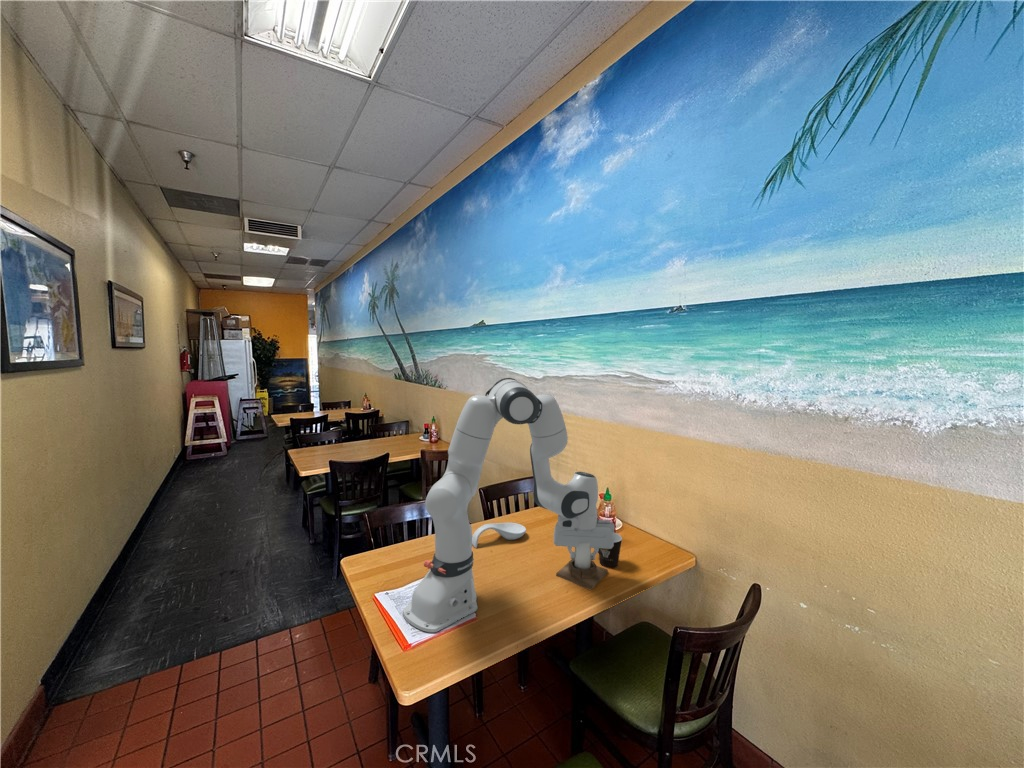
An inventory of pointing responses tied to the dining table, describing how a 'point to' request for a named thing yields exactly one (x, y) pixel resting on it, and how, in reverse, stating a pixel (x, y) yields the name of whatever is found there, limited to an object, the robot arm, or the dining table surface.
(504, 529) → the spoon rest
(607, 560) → the coffee mug
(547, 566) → the dining table surface
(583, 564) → the roll
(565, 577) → the holder
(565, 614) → the dining table surface
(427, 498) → the robot arm
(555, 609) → the dining table surface
